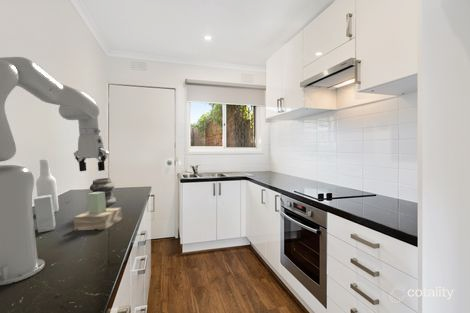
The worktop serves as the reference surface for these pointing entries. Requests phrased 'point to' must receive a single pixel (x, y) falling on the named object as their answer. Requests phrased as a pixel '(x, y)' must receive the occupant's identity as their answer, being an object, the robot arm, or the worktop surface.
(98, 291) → the worktop surface
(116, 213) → the birch block
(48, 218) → the skincare box
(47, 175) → the alcohol
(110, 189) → the apothecary jar
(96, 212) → the sage block
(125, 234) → the worktop surface
